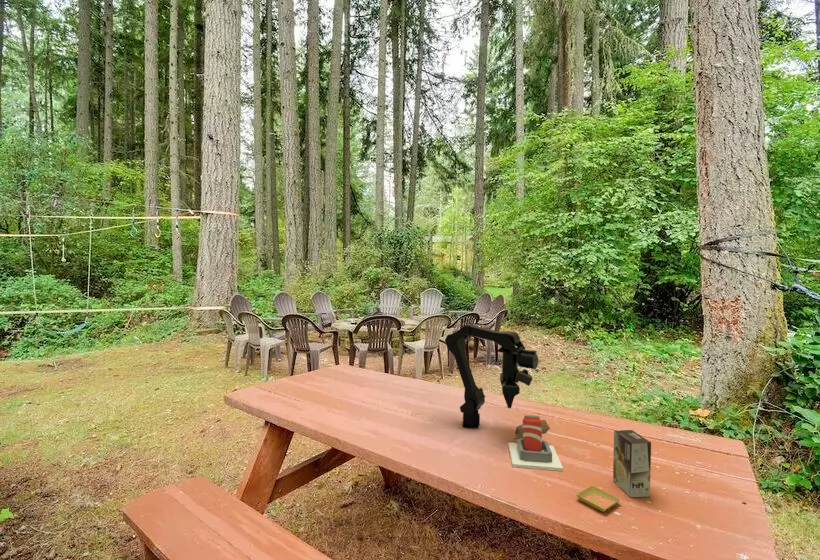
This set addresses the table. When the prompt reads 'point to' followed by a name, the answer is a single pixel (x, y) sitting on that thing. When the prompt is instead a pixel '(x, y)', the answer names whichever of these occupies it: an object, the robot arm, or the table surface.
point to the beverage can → (532, 433)
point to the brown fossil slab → (520, 429)
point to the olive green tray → (598, 492)
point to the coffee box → (632, 463)
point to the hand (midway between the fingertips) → (508, 403)
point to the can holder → (534, 457)
